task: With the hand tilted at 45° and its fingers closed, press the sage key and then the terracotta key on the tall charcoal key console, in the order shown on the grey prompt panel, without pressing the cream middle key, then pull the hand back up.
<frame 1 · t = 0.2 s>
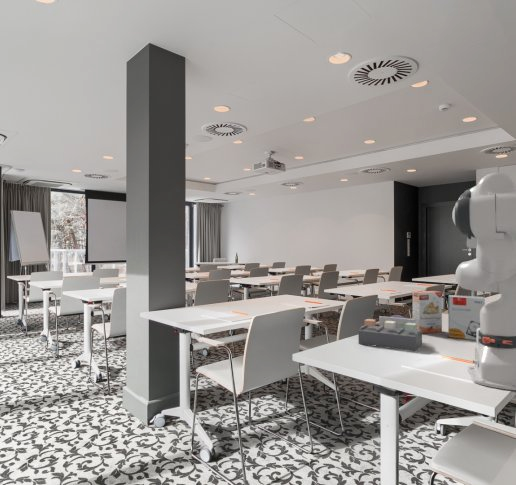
hand: (495, 260, 151), 38 cm above the table, tool pointing down, fingers open, 8 cm apart
hard drive box: (466, 338, 185), on the table
cracker box: (427, 332, 198), on the table
cream key: (390, 324, 174), point 9 cm above the table, slide at 0.0 cm
terracotta key: (370, 322, 178), point 9 cm above the table, slide at 0.0 cm
cell model: (397, 334, 193), on the table
key console: (390, 344, 173), on the table
sage key: (411, 326, 169), point 9 cm above the table, slide at 0.0 cm
eye dropper bottle: (484, 347, 167), on the table
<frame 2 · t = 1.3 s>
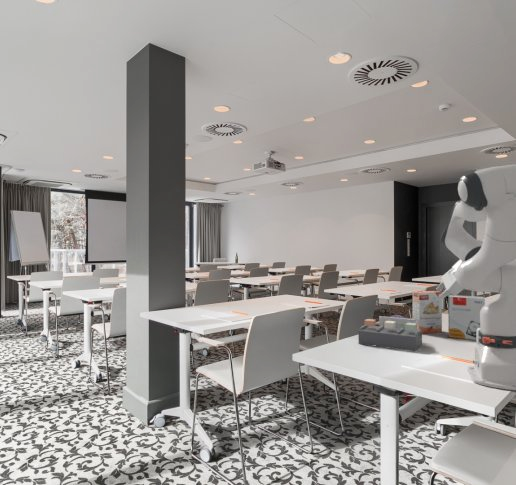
hand: (438, 294, 164), 24 cm above the table, tool tilted 45°, fingers open, 8 cm apart
nothing on the table moved.
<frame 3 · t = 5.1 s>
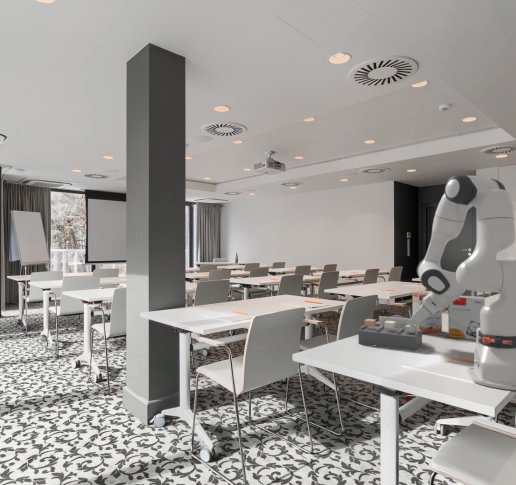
hand: (409, 324, 169), 10 cm above the table, tool tilted 45°, fingers closed, pressing on sage key
sage key: (411, 328, 169), point 8 cm above the table, slide at 0.9 cm, touching gripper
everything else where it was.
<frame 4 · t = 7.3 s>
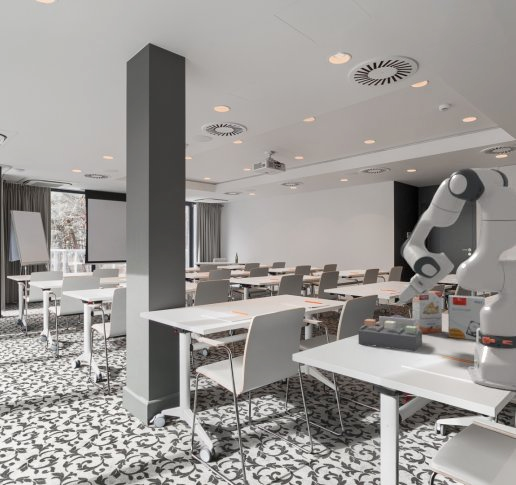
hand: (398, 304, 172), 18 cm above the table, tool tilted 45°, fingers closed
sage key: (411, 329, 169), point 7 cm above the table, slide at 1.3 cm
everything else where it was.
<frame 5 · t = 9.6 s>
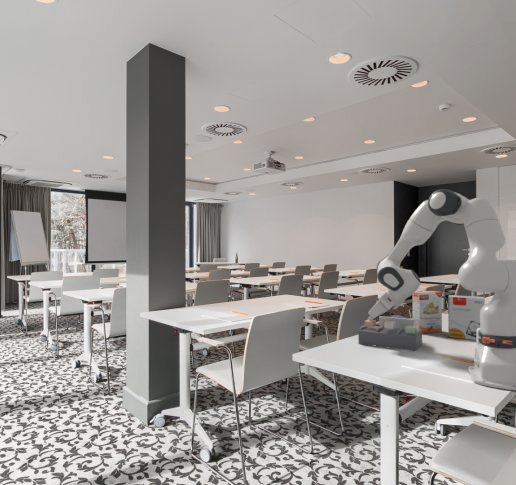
hand: (369, 319, 179), 10 cm above the table, tool tilted 45°, fingers closed, pressing on terracotta key
terracotta key: (370, 323, 178), point 8 cm above the table, slide at 0.4 cm, touching gripper
everything else where it was.
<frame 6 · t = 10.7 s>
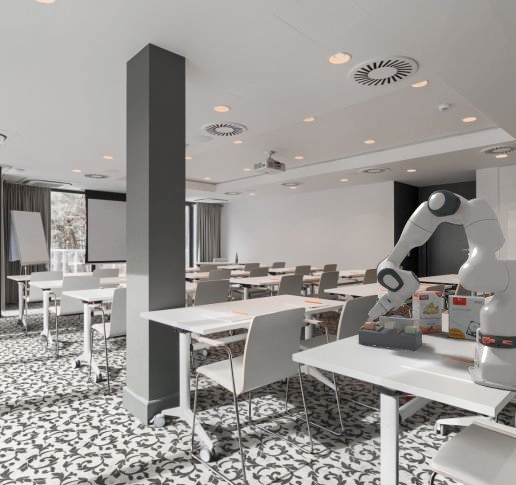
hand: (369, 320, 178), 10 cm above the table, tool tilted 45°, fingers closed
terracotta key: (370, 325, 178), point 7 cm above the table, slide at 1.3 cm
everything else where it was.
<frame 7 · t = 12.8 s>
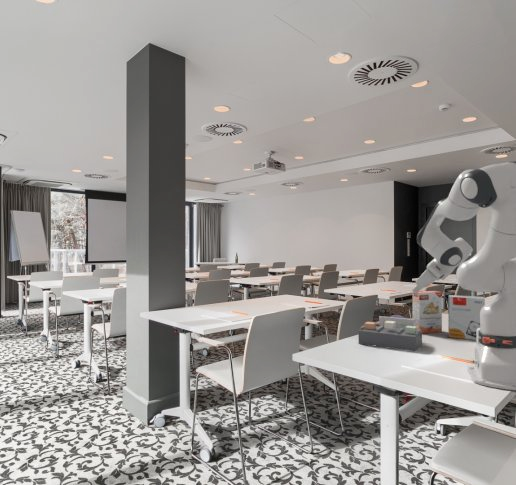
hand: (414, 292, 168), 24 cm above the table, tool tilted 45°, fingers closed
nothing on the table moved.
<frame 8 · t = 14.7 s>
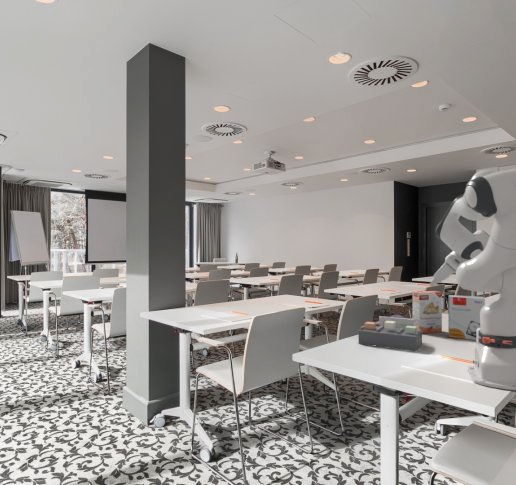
hand: (431, 285, 165), 27 cm above the table, tool tilted 45°, fingers closed
nothing on the table moved.
at the end: sage key slide at 1.3 cm; terracotta key slide at 1.3 cm; cream key slide at 0.0 cm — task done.
